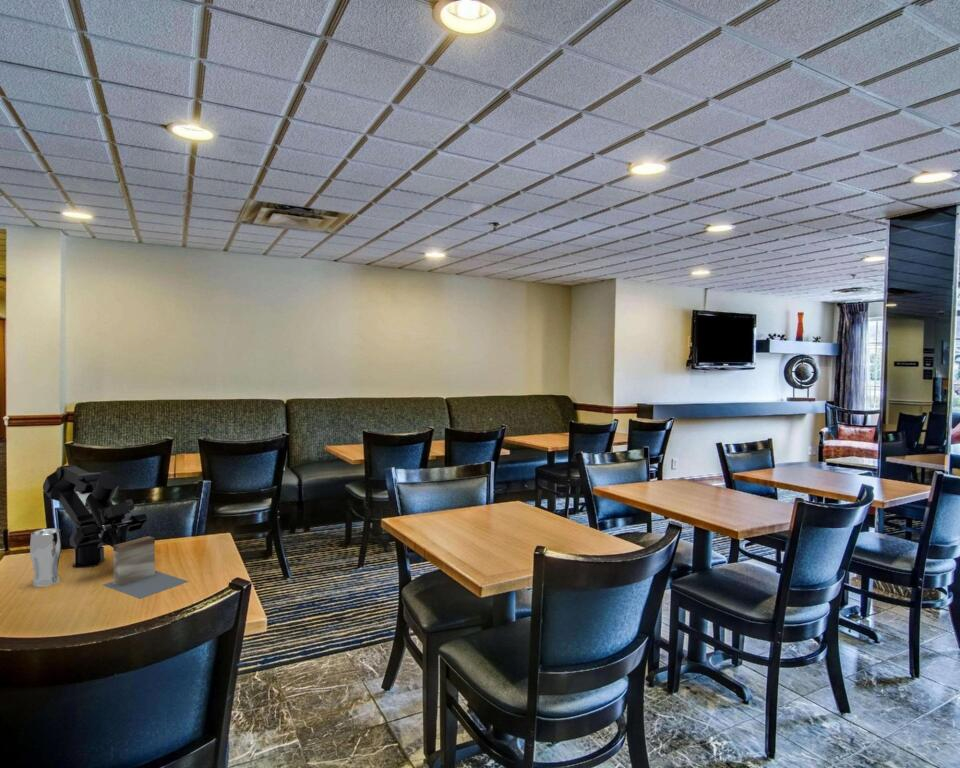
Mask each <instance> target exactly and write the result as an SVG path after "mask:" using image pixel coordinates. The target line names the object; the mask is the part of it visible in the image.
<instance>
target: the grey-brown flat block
mask: <svg viewBox="0 0 960 768" xmlns="http://www.w3.org/2000/svg"><path fill="white" fill-rule="evenodd" d="M155 538H156V537H153V536H149V535H147V536H143V537H141V538H136V539H133V540H129V541H126V542H124V543H121V544H117V545H113V547H112V548H113V549H112V550H113V551H112V553H113V557H112V558H113V581H114V584H115V585H118V586H122V585H125V584H128V583H131V582H134V581H137V580H140V579H143V578H147V577H150V576H153V575H155V571H156V564H155V563H156V560H155V559H156V558H155V555H156V550H155V549H156V548H155V547H156V545H155V543H156V542H155Z"/></svg>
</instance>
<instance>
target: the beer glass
mask: <svg viewBox="0 0 960 768" xmlns="http://www.w3.org/2000/svg"><path fill="white" fill-rule="evenodd" d="M61 551H62V537H61V528H60V529H59V528H55V527H51V528H50V527H49V528H42V529H38V530H35V531H33V532H30V542H29V552H30V553H29V554H30V558H31V563H32V568H33V573H34V574H33V580H32V586H33V587H35V588H41V587H49V586H52V585H55V584H58V583H59V582H60V580H61V579H60V576H59V561H60V557H61V553H62V552H61Z"/></svg>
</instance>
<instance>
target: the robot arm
mask: <svg viewBox="0 0 960 768" xmlns="http://www.w3.org/2000/svg"><path fill="white" fill-rule="evenodd" d="M120 484H121V479H120V477H118V476H117V475H115V474H113V473H110V471H109V470H103V471H101V472H89V471H86V470H84V469H83V468H80V467H78V465H75V464H68V465H61V466H58V467H57V468H56V470H55V471H54V472H52V473H51V474H49V475H47V476H46V478H45V480H44V481H43V485H42V490H43V494H45V495H46V496H47V498H49V499H50V500H53V501H56V502H59V504H61V506H62V507H63V509H64V510H65V513H67V515H68V516H69V518H70V519H71V521H72V522H73V523H74V529H73V532H72V533H71V535H70V537H69V545H70V547H73V548H74V553H75V554H74V557H75V559H74V564H73V565H72V568H83V567H84V568H85V567H87V568H88V567H96V566H98V565H100V564H101V563H102V562H103V561H104V560H105V559H106V557H105V547H104V546H103V543H104V544H106V545H107V546H110V547H112V548H113V545H117V544H121V543H124V542H127V533H128V532H130V533H134V532H136V531H140V530H142V529H143V528H144V526H145V525H146V524H147V522H148V521H149V520H150V518H149V516H148V515H147V513H145V512H141V513H137V514H133V515H131V516H130V517H129V519H128V520H126V521H123V520H124V519H125V518H126V516H125V515H127V514H130V513H131V512H132V511H133V510H134V509H135V504H134V501H133V499H126V500H124V501H123V502H121V503H116V504H114V503H113V501H112V500H111V499H112V498H114V496H115V494H116V492H117V490H118V489H119V486H120ZM76 491H77V492H78V493H79V494H80V495H87V494H88V495H87V497H86V499H85V503H84V502H83V501H82V499H81V498H80V496H79V495H78V494H77V492H76ZM88 508H89V509H88Z"/></svg>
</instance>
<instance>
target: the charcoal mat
mask: <svg viewBox="0 0 960 768" xmlns="http://www.w3.org/2000/svg"><path fill="white" fill-rule="evenodd" d="M189 582H190V581H189V580H186V579H182V578H180V577H176V576H172V575H170V574H167V573H163V572H160V571H157V570H155V575H153V576H150V577H147V578H143V579H140V580H137V581H134V582H131V583H128V584H125V585H122V586H118V585H115V584H114V580H113V581H110V582H107V583H104V584H102V586H103V587H106V588H109V589H112V590H113V591H117V592H120V593H123V594H124V595H128V596H131V597H134V598H136V599H139V600H141V599H144V598H147V597H151V596H153V595H155V594H158V593H162V592H163V591H164V592H165V591H166V590H169V589H172V588H175V587H178V586H181V585H184V584H186V583H189Z"/></svg>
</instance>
